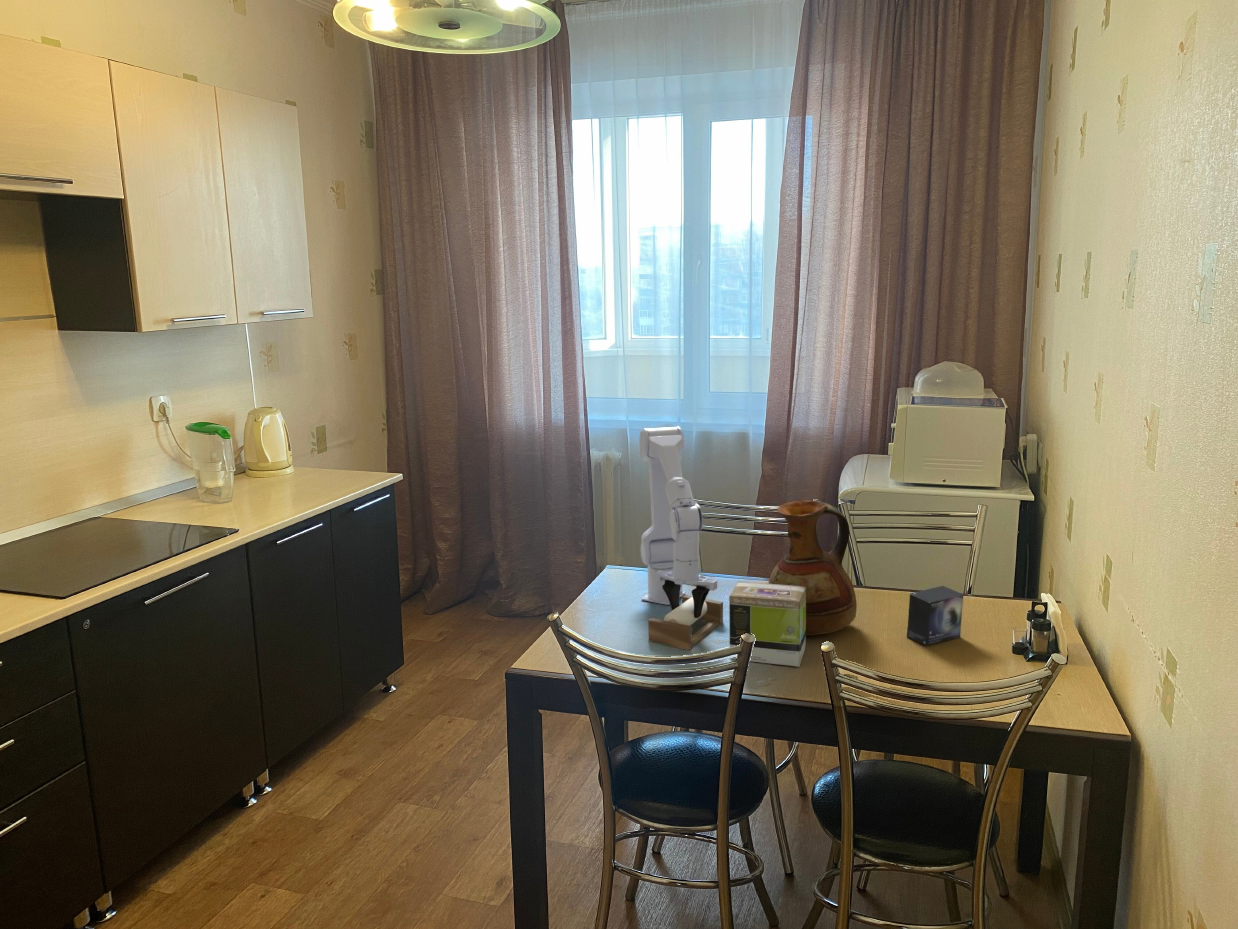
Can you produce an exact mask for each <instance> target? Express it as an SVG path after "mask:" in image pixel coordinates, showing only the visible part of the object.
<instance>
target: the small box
mask: <svg viewBox="0 0 1238 929" xmlns="http://www.w3.org/2000/svg"><path fill="white" fill-rule="evenodd" d="M964 596H965V595H964V593H961V592H959V591H957V590H955V589H951V588H949V587H948V586H944V585H941V586H937V587H932V588H928V589H924V590H920V591H915V592H911V593H909V602H908V617H907V618H908V619H907V629H906V630H907V631H906V638H909V639H911V640H913V641H915V642H917V643H918V644H921V645H923V646H925V647H928V646H933V645H936V644H940V643H943V642H948V641H951V640H955V639H960V638H961V631H962V630H961V629H962V618H963V617H962V616H963V605H964V604H963V603H964Z"/></svg>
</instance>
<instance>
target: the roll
mask: <svg viewBox="0 0 1238 929" xmlns="http://www.w3.org/2000/svg"><path fill="white" fill-rule="evenodd" d="M706 612H707V604H706V602H705V601H704V604H703V608H702V612H701V616H700V617H698V618H694V601H693V597H691V598H690V599H688V600H687V601H685V602H684V603H683V604H682V603H681V604H680V606H678V607H677V608H675V609H674V610H673V611H672V610H671V611H669V612H668V613H667V614H666V615H665V616H664V618H663V621H668V622H673V623H678V624H683V625H688V626H692V625H693V624H694V623H695V622H697V621H699V620H698V619H699V618H701V617H702V616H703V615H705V613H706Z"/></svg>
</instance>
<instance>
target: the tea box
mask: <svg viewBox="0 0 1238 929" xmlns="http://www.w3.org/2000/svg"><path fill="white" fill-rule="evenodd" d="M728 601H729V602H728V603H729V606H728V608H729V612H728V613H729V616H728V618H729V620H728V621H729V625H728V626H729V637H728V638H729V641H728V642H729V648H730V647H734V646H737V645H739V644H740V638H741V635H743V634H745V633H752V634H754V635H755V638H756V641H755V644H754V647H753V650H752V656H751V661H750V662H752V663H754V662H755V663H763V664H771V665H772V664H773V665H779V666H787V667H789V666H790V667H798V668H800V666H801V663H802V660H803V656H804V655H805V654H804V653H805V650H806V636H807V635H806V587H804V586H792V585H779V584H769V583H763V582H752V581H751V582H750V581H741V580H740V581H739V580H738V582H736V585H735V587H734V588H733V590H732V591H731V593H730V594H729V600H728ZM729 659H730V660H736V657H733V658H730V657H729Z"/></svg>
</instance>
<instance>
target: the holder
mask: <svg viewBox="0 0 1238 929" xmlns="http://www.w3.org/2000/svg"><path fill="white" fill-rule="evenodd" d="M691 597H693V596H692V595H688V594H684V595H683V596H681V604H683V603H684V602H685V601H687V600H688V599H690V598H691ZM705 602H706V604H707V612H706V613H705V615H703V616H702V617H701V618H699V619H698V620H697V621H702V622H707V624H705V625H704V626H703V627H702V628H700V629H699V630H698V631H696V632H695V633H694V634H693V635H692V625H690V626H688V625H683V624H678V623H673V622H668V621H664V619H658V618H653V617H651V618H650V619H648V620H647V621H648V622H647V623H648V625H647V626H648V628H647V629H648V630H647V631H648V642H650V643H655V644H660V645H664V646H669V647H672V648H678V649H682V650H687V651H690V649H691V648H692V647H693V646H694V645H695V644H696V643H698V642H699V641H701V639H702V638H703V637H705V636H707V634H709V633H710V632H711V631H712V630H714V629H715V628H716V627H717V626H718V625H722V623H724V602H723V601H720V600H716V599H715V600H714V599H709V598H706V599H705Z"/></svg>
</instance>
